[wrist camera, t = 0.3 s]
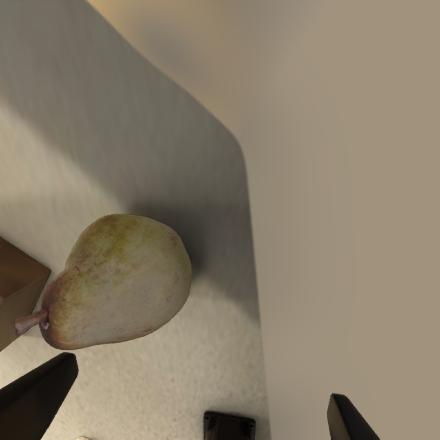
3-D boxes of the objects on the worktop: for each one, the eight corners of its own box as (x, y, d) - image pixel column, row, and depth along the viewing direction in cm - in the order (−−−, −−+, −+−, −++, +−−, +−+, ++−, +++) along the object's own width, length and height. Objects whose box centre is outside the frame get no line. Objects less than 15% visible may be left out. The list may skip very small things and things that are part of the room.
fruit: (102, 206, 23) (-51, 264, 11) (193, 196, 21) (120, 252, 10) (127, 295, 25) (25, 412, 14) (209, 292, 24) (168, 423, 12)
